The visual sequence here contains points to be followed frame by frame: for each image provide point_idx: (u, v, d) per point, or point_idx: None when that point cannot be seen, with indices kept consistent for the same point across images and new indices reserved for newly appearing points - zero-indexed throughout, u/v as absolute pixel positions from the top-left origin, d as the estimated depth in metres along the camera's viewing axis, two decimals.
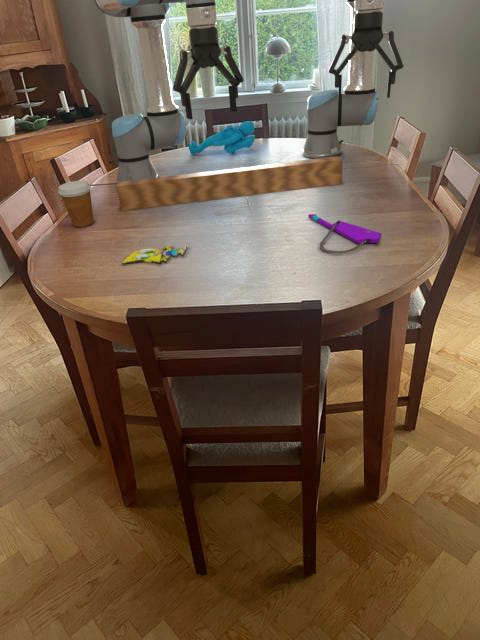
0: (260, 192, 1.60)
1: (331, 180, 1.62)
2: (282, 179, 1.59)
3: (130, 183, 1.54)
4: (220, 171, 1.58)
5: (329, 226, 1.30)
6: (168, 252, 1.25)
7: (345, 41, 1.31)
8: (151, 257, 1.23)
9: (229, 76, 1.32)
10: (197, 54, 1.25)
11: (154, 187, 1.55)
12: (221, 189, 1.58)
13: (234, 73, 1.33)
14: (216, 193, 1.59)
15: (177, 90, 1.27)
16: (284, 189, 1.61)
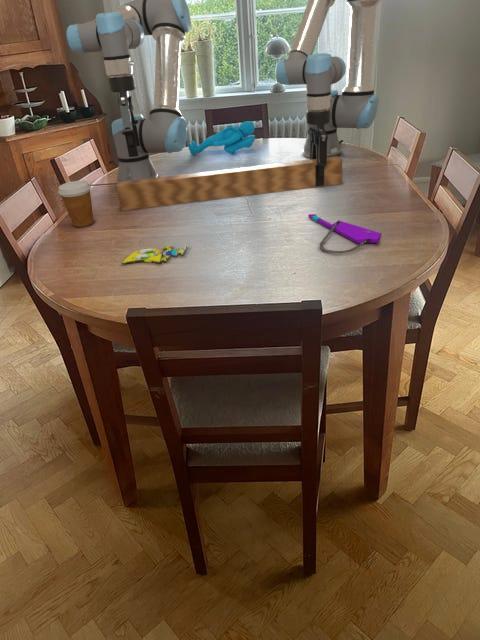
0: (260, 192, 1.60)
1: (331, 180, 1.62)
2: (282, 179, 1.59)
3: (130, 183, 1.54)
4: (220, 171, 1.58)
5: (329, 226, 1.30)
6: (168, 252, 1.25)
7: None
8: (151, 257, 1.23)
9: (133, 116, 1.50)
10: (127, 98, 1.40)
11: (154, 187, 1.55)
12: (221, 189, 1.58)
13: None
14: (216, 193, 1.59)
15: (132, 131, 1.38)
16: (284, 189, 1.61)
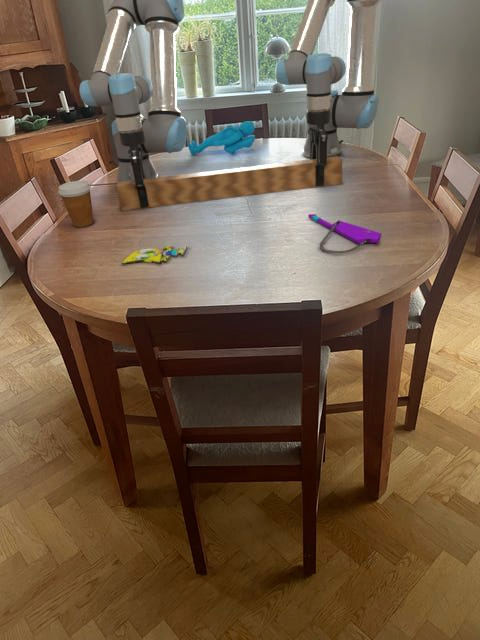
0: (260, 192, 1.60)
1: (331, 180, 1.62)
2: (282, 179, 1.59)
3: (130, 183, 1.54)
4: (220, 171, 1.58)
5: (329, 226, 1.30)
6: (168, 252, 1.25)
7: None
8: (151, 257, 1.23)
9: (143, 172, 1.56)
10: (137, 151, 1.48)
11: (154, 187, 1.55)
12: (221, 189, 1.58)
13: None
14: (216, 193, 1.59)
15: (144, 186, 1.51)
16: (284, 189, 1.61)
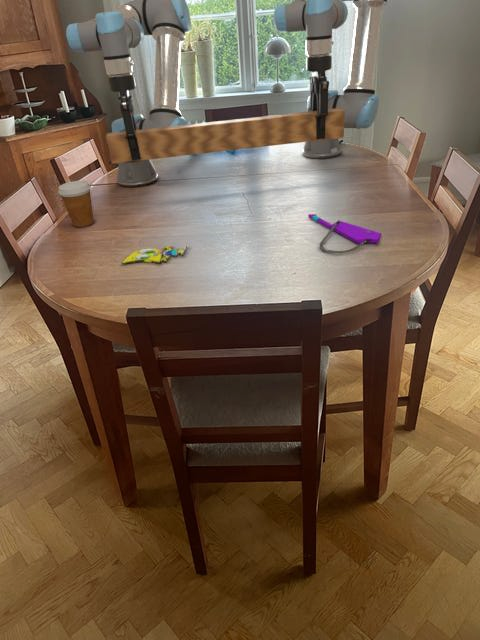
0: (258, 145, 1.53)
1: (332, 134, 1.54)
2: (281, 131, 1.51)
3: (121, 133, 1.46)
4: (216, 122, 1.50)
5: (329, 226, 1.30)
6: (168, 252, 1.25)
7: None
8: (151, 257, 1.23)
9: (134, 122, 1.48)
10: (128, 97, 1.39)
11: (146, 138, 1.47)
12: (216, 142, 1.50)
13: None
14: (211, 145, 1.51)
15: (135, 135, 1.43)
16: (283, 142, 1.53)
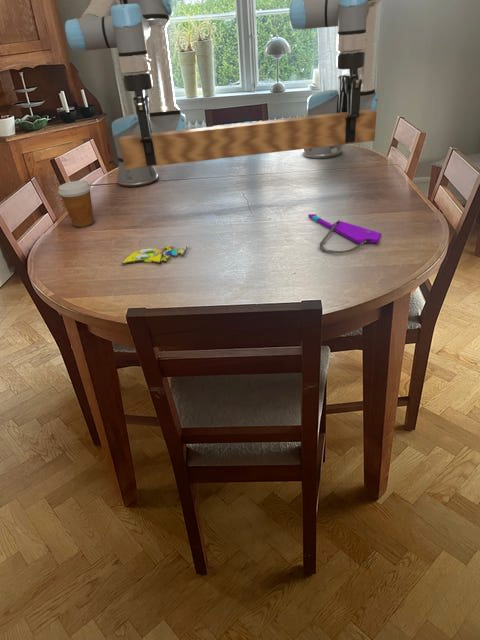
0: (282, 149, 1.41)
1: (363, 136, 1.43)
2: (308, 134, 1.40)
3: (135, 137, 1.35)
4: (237, 124, 1.38)
5: (329, 226, 1.30)
6: (168, 252, 1.25)
7: None
8: (151, 257, 1.23)
9: (150, 124, 1.37)
10: (144, 97, 1.28)
11: (162, 142, 1.35)
12: (238, 145, 1.39)
13: None
14: (232, 149, 1.39)
15: (151, 138, 1.32)
16: (310, 146, 1.42)
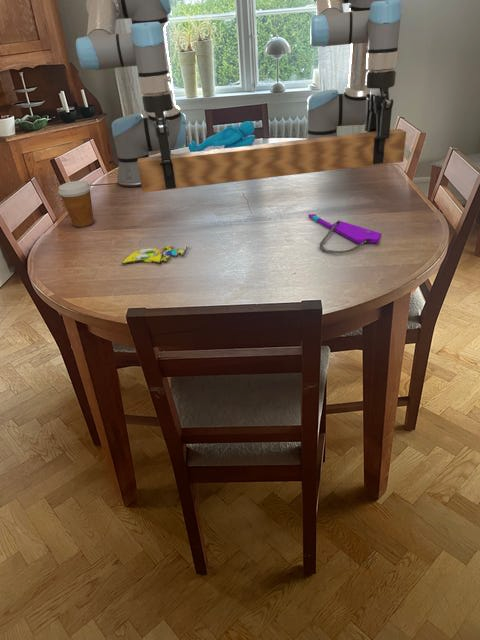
0: (307, 171, 1.35)
1: (391, 157, 1.36)
2: (334, 155, 1.34)
3: (154, 159, 1.29)
4: (261, 145, 1.32)
5: (329, 226, 1.30)
6: (168, 252, 1.25)
7: None
8: (151, 257, 1.23)
9: (169, 146, 1.31)
10: (164, 119, 1.22)
11: (182, 164, 1.29)
12: (261, 167, 1.33)
13: None
14: (255, 172, 1.33)
15: (171, 161, 1.25)
16: (336, 168, 1.36)
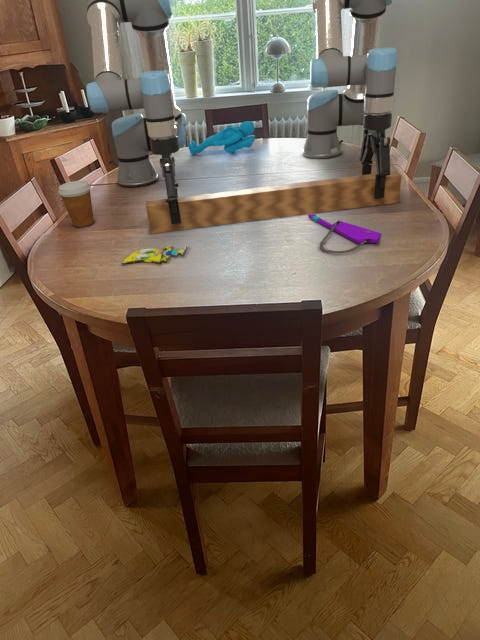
0: (307, 212, 1.42)
1: (387, 199, 1.43)
2: (332, 197, 1.40)
3: (161, 203, 1.35)
4: (263, 189, 1.39)
5: (329, 226, 1.30)
6: (168, 252, 1.25)
7: None
8: (151, 257, 1.23)
9: (174, 178, 1.38)
10: (171, 161, 1.28)
11: (189, 207, 1.36)
12: (263, 209, 1.39)
13: None
14: (258, 213, 1.40)
15: (177, 199, 1.28)
16: (334, 209, 1.42)
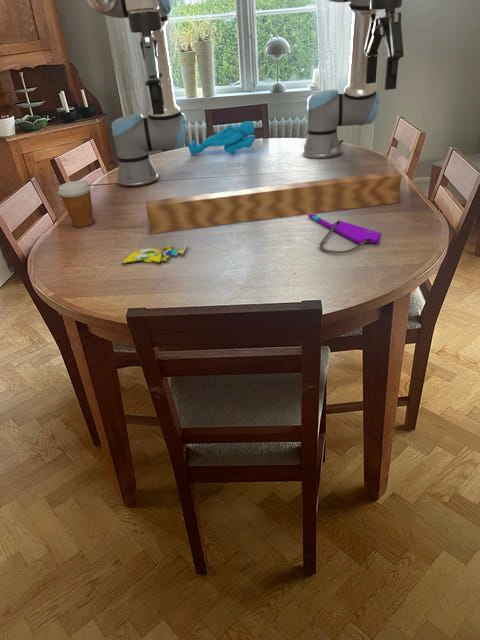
0: (307, 212, 1.42)
1: (387, 199, 1.43)
2: (332, 197, 1.40)
3: (161, 203, 1.35)
4: (263, 189, 1.39)
5: (329, 226, 1.30)
6: (168, 252, 1.25)
7: None
8: (151, 257, 1.23)
9: (157, 67, 1.23)
10: None
11: (189, 207, 1.36)
12: (263, 209, 1.39)
13: None
14: (258, 213, 1.40)
15: (158, 80, 1.11)
16: (334, 209, 1.42)
